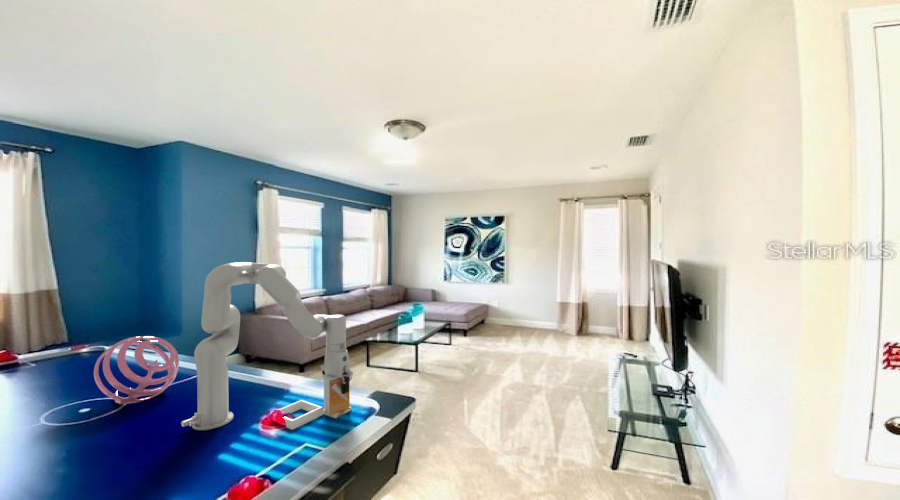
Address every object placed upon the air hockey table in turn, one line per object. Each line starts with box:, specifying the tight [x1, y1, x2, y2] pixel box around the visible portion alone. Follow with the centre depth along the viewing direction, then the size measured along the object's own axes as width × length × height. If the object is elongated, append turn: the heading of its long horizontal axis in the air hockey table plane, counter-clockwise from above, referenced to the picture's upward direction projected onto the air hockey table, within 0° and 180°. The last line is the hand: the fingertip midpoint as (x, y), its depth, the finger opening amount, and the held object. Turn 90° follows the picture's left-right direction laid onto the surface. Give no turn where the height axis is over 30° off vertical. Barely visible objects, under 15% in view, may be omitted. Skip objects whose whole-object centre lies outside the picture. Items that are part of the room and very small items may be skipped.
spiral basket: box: [93, 335, 180, 405], centre depth 150 cm, size 28×28×27 cm
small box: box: [323, 374, 351, 414], centre depth 135 cm, size 8×6×13 cm
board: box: [323, 406, 353, 419], centre depth 136 cm, size 8×8×1 cm
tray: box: [270, 399, 324, 430], centre depth 131 cm, size 13×13×3 cm
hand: (336, 390), depth 136 cm, fingers open, 9 cm apart
